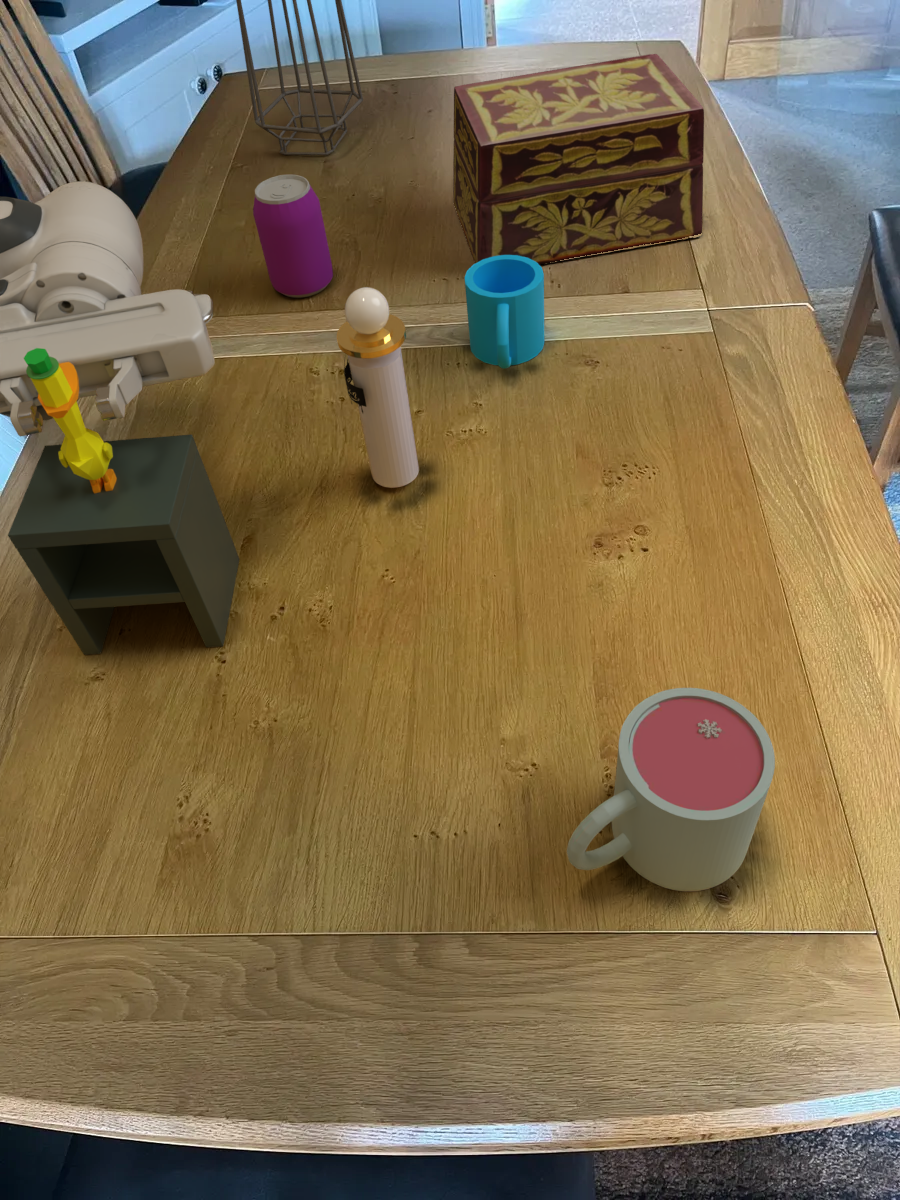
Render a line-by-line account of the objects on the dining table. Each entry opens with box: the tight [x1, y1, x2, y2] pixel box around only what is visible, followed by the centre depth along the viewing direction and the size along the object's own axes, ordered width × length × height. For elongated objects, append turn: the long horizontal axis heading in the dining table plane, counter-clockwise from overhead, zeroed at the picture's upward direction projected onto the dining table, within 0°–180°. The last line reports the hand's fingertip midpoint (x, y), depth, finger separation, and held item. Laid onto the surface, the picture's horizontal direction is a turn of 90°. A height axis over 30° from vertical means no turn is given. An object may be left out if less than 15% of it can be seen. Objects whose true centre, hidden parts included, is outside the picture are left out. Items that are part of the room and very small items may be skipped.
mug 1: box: [463, 255, 546, 369], centre depth 98 cm, size 12×8×8 cm
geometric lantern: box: [235, 0, 364, 156], centre depth 126 cm, size 16×16×35 cm
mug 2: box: [566, 687, 776, 892], centre depth 60 cm, size 14×9×10 cm
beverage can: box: [252, 174, 334, 299], centre depth 110 cm, size 8×8×12 cm
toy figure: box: [24, 348, 117, 493], centre depth 66 cm, size 7×4×12 cm, turn 10°
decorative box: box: [452, 53, 705, 266], centre depth 113 cm, size 28×19×15 cm
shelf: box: [7, 434, 240, 656], centre depth 76 cm, size 12×10×14 cm
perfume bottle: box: [336, 286, 420, 489], centre depth 82 cm, size 6×6×20 cm
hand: (67, 419), depth 65 cm, fingers open, 4 cm apart
